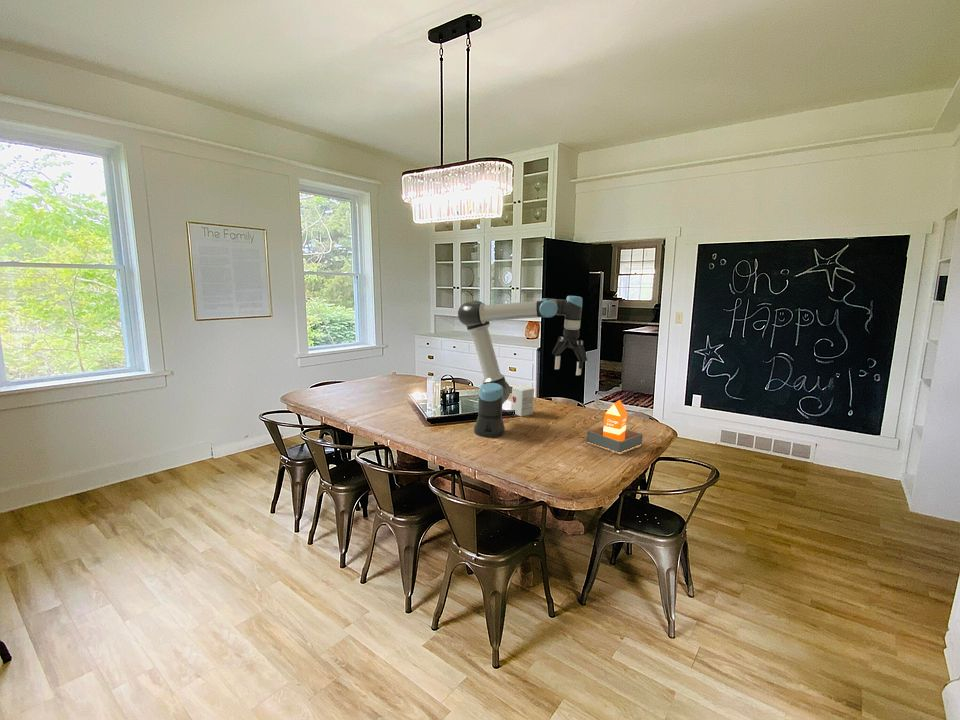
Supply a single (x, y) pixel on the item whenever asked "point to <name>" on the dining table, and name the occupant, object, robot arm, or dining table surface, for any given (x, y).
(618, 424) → the orange juice
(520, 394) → the supplement box
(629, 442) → the bin
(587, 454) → the dining table surface
